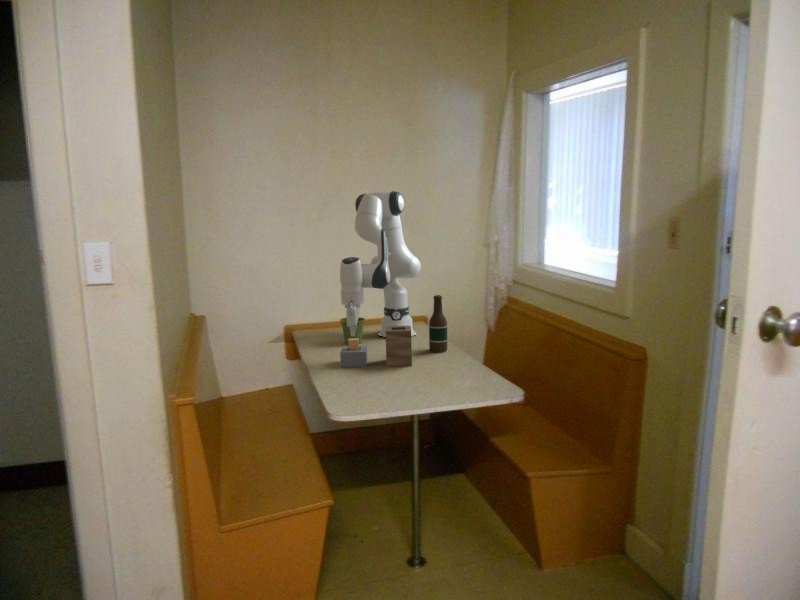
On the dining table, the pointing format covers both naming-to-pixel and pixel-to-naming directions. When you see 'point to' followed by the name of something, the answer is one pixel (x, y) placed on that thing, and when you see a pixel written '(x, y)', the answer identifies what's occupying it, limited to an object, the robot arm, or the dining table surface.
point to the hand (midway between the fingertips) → (353, 333)
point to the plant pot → (357, 333)
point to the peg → (353, 344)
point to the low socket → (353, 357)
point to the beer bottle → (438, 327)
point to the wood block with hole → (398, 346)
